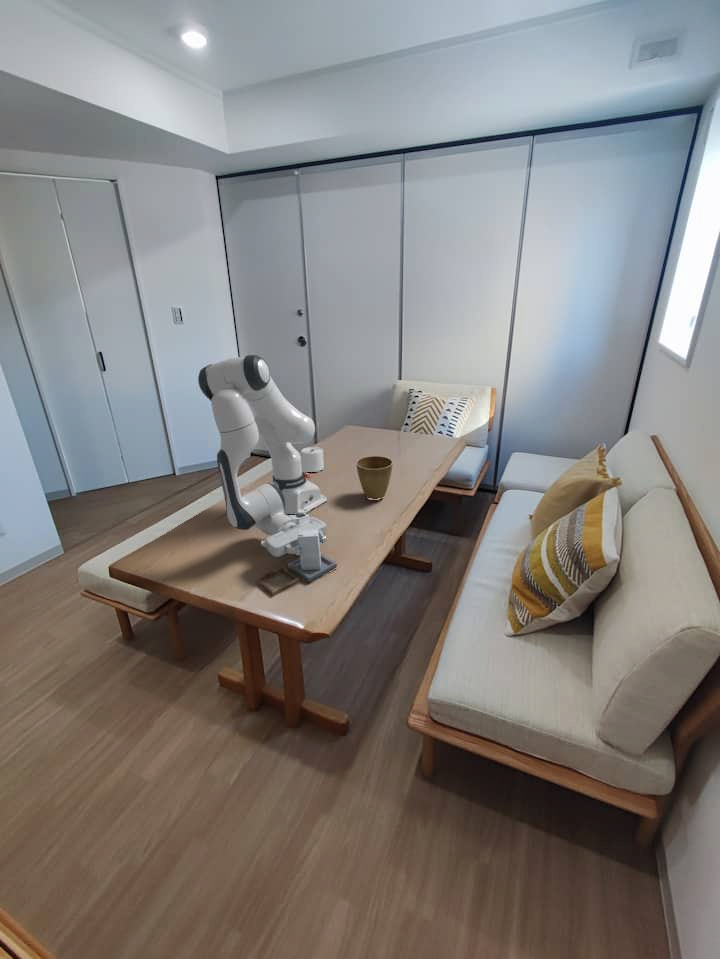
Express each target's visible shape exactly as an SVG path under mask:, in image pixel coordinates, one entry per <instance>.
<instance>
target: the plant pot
mask: <svg viewBox="0 0 720 959" xmlns="http://www.w3.org/2000/svg"><path fill="white" fill-rule="evenodd" d="M355 465H356V470H357V476H358V478H359V479H358V480H359V482H360V486H361V488H362V492H363V493H364V496H365V498H366V497H368V498H372V499H378V498H382V497H384V498H385V495H386V493H387V490H388V487H389V484H390V481H391V475H392V470H393V460H392V459H391V458H390V457H387V456H380V455H370V456H364V457H361V458H359V459H357V461H356V462H355Z"/></svg>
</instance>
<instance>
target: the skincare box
mask: <svg viewBox="0 0 720 959" xmlns="http://www.w3.org/2000/svg"><path fill="white" fill-rule="evenodd" d="M319 540H320V539H319V531H318V530H299V533H298V544H299V548H301V549H302V554H300V555H299V558H300V562H301V570H320V569H321V554H322V553H321V545H320V543H321V542H320V541H319Z"/></svg>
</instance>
